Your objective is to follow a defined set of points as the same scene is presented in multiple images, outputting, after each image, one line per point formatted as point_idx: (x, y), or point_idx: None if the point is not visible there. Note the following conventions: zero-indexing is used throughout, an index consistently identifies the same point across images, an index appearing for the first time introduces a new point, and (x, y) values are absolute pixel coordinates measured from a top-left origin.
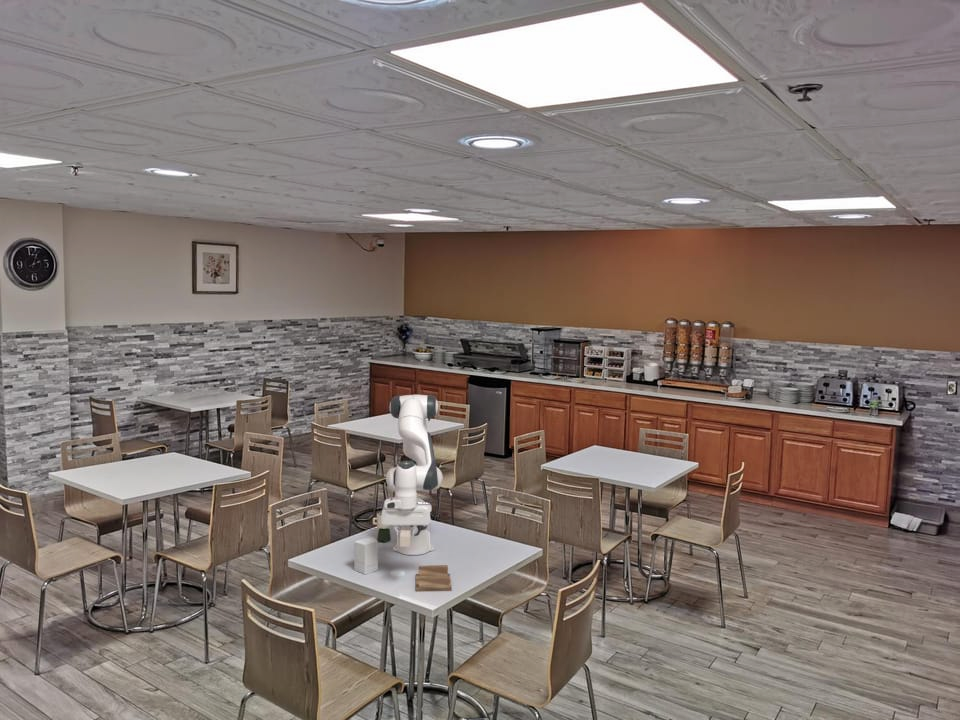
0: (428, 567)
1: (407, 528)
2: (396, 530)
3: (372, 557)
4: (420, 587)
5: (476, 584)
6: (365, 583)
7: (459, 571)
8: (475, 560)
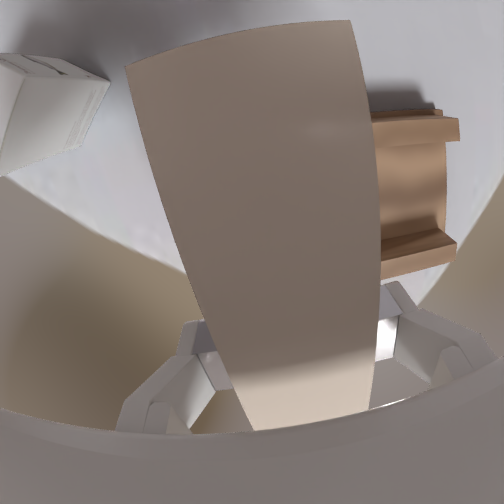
0: (383, 146)
1: (327, 304)
2: (188, 411)
3: (61, 116)
4: None
5: (499, 182)
6: (116, 229)
7: (458, 60)
8: None
